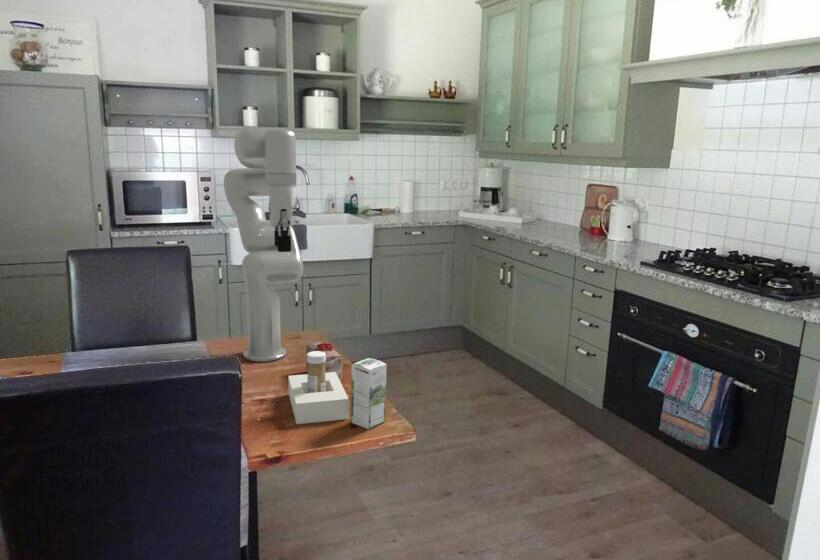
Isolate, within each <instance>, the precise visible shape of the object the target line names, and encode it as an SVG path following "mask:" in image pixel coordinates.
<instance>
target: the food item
mask: <svg viewBox="0 0 820 560" xmlns="http://www.w3.org/2000/svg"><path fill="white" fill-rule="evenodd" d="M305 349H306V350H305V355H306V357H305V358H306V359H305V368H306V369H305V370H306V371H307V372H308V364H307V354H308V353H309V352H312V351H322V352H324V353H325V354H326V361H325V373H328V372H336V374H337V376H338V378H339V380H340V382H341V383H342V380H343V379H342V378H343V370H344V363H343V362H344V361H343V355H341V354H340V353H339V352H337V351H336V350H335V347H334V346H333V344H332V343H330V342H329V343H328V342H320V341H317V342H313V343H310V344H307V345H306V348H305Z"/></svg>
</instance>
